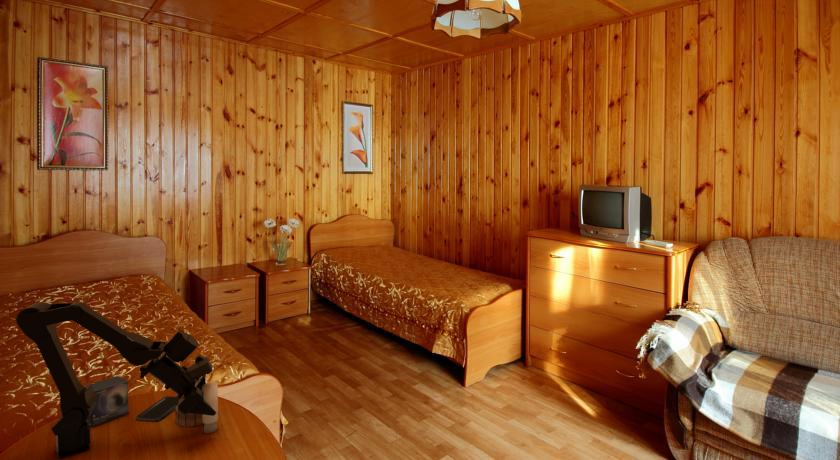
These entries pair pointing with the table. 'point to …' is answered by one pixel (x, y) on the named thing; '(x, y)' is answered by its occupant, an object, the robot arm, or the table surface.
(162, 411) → the phone
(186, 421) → the segmented block ring
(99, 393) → the small box
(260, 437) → the table surface
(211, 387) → the tapered rounded pillar
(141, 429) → the table surface
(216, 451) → the table surface
